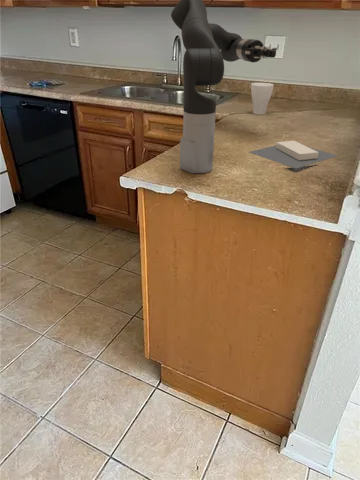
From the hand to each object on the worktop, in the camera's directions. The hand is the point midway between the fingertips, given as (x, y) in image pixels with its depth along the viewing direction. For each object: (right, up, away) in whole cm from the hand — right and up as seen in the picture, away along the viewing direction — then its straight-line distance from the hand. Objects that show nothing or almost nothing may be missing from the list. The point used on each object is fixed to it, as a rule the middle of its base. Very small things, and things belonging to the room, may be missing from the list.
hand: (273, 54), depth 129 cm
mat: (+6, -35, -1) cm, 36 cm away
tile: (+5, -30, +4) cm, 30 cm away
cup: (+7, -1, +59) cm, 59 cm away
